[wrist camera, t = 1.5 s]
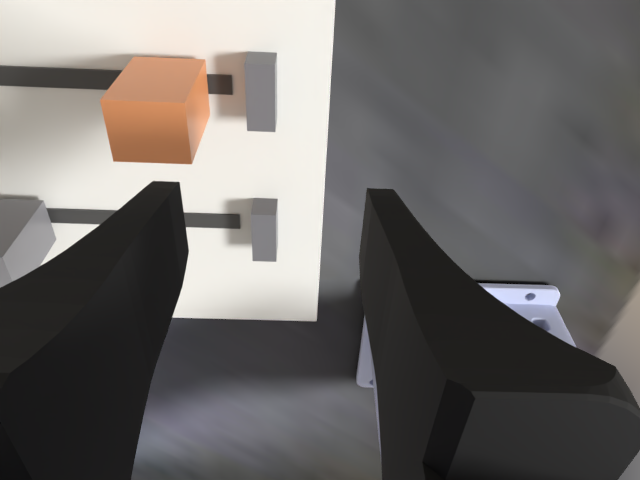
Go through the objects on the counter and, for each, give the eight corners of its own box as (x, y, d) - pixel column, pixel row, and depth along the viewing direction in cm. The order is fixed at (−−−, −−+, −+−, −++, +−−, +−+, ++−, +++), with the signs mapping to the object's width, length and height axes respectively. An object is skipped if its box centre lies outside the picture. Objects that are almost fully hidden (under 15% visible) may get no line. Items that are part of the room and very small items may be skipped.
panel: (340, -115, 16) (343, -107, 15) (316, 304, 27) (316, 339, 26) (-300, -149, 16) (-384, -145, 14) (-62, 293, 27) (-90, 329, 25)
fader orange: (205, 59, 18) (184, 103, 15) (210, 114, 19) (192, 164, 16) (134, 56, 18) (99, 99, 15) (143, 112, 19) (113, 161, 16)
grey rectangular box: (43, 200, 22) (2, 257, 19) (56, 239, 23) (19, 298, 20) (-17, 198, 21) (-68, 255, 19) (-1, 237, 23) (-47, 296, 20)
